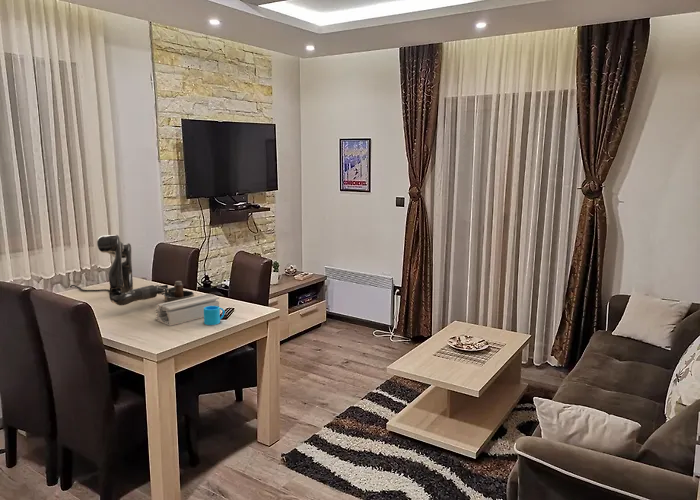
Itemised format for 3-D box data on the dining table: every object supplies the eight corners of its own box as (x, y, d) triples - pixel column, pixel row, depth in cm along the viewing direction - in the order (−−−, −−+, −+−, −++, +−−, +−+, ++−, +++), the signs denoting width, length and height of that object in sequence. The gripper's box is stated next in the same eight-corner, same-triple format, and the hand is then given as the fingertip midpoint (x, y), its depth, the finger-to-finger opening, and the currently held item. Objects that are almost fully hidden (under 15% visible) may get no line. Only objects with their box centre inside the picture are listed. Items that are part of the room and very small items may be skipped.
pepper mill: (172, 299, 308) (172, 281, 306) (178, 297, 312) (178, 280, 311) (179, 300, 306) (178, 282, 304) (185, 298, 310) (184, 281, 308)
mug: (209, 326, 261) (209, 311, 260) (201, 322, 267) (200, 307, 265) (229, 321, 270) (228, 306, 269) (220, 317, 276) (219, 303, 274)
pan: (158, 301, 305) (157, 295, 304) (178, 294, 320) (177, 289, 320) (180, 304, 298) (180, 299, 298) (199, 298, 314) (199, 292, 313)
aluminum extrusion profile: (155, 319, 270) (154, 301, 268) (204, 308, 293) (204, 291, 291) (170, 325, 261) (169, 307, 259) (219, 313, 284) (218, 296, 282)
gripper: (152, 288, 286) (178, 283, 299) (139, 284, 295) (164, 279, 308) (153, 301, 288) (178, 295, 300) (140, 296, 296) (165, 291, 309)
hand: (171, 287), depth 304 cm, fingers open, 8 cm apart
